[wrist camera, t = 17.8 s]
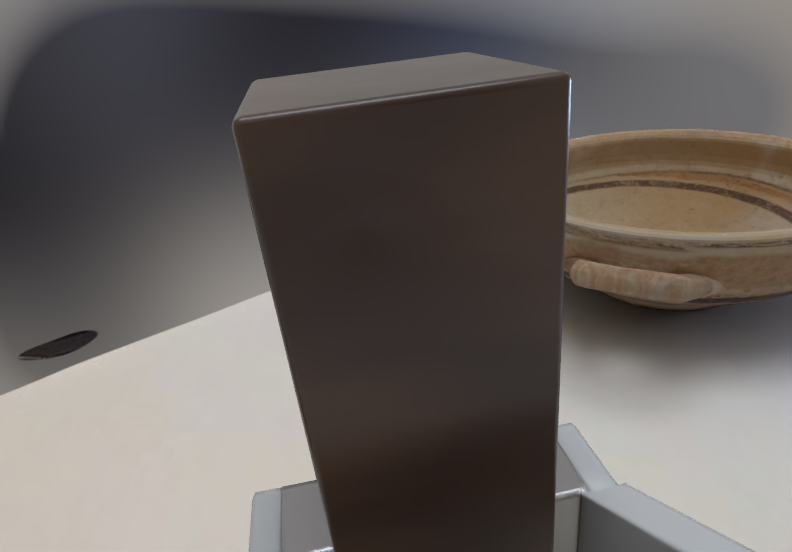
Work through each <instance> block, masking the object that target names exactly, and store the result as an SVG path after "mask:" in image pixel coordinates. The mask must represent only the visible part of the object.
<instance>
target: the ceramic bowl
mask: <svg viewBox="0 0 792 552" xmlns="http://www.w3.org/2000/svg"><path fill="white" fill-rule="evenodd" d="M564 276H565V277H568V278H570V279H572V281H573V283H574V284H575V285H577V286H580V287H583V288H588V289H594V290H600V291H602V292H604V293H605V294H607V295H609V296H611V297H613V298H616V299H618V300H621V301H624V302H627V303H630V304H634V305H638V306H643V307H648V308H655V309H662V310H697V309H705V308H710V307H715V306H718V305H727V304H738V303H748V302H757V301H764V300H768V299H773V298H778V297H782V296H787V295H790V294H792V139H791V138H785V137H779V136H771V135H764V134H756V133H746V132H734V131H720V130H719V131H718V130H710V129H702V128H701V129H700V128H697V129H666V130H640V131H627V132H616V133H606V134H598V135H591V136H585V137H579V138H573V139H569V154H568V180H567V206H566V232H565V258H564Z"/></svg>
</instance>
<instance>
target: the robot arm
mask: <svg viewBox="0 0 792 552" xmlns="http://www.w3.org/2000/svg"><path fill="white" fill-rule="evenodd" d="M249 552H334V549H333V545H332V541H331V537H330V533H329V529H328V524H327V520H326V516H325V512H324V508H323V504H322V500H321V495H320V491H319V487H318V483H317V480H314V481H309V482H304V483H299V484H294V485H289V486H283V487H281V488H276V489H271V490H266V491H261V492H256V493H255V494H254V497H253V500H252V513H251V527H250V542H249ZM553 552H755V551H753V550H751V549H749V548H747V547H745V546H743V545H742V544H740V543H738V542H736V541H734V540H732V539H730V538H728V537H726V536H724V535H722V534H721V533H719V532H717V531H715V530H713V529H711V528H709V527H707V526H705V525H703V524H702V523H700V522H698V521H696V520H694V519H692V518H690V517H688V516H686V515H684V514H683V513H681V512H679V511H677V510H675V509H673V508H671V507H669V506H667V505H665V504H664V503H662V502H660V501H658V500H656V499H654V498H652V497H650V496H648V495H646V494H645V493H643V492H641V491H639V490H637V489H635V488H633V487H631V486H629V485H627V484H626V483H625V484H620V485H617V483H616V482H615V480H614V479H613V478H612V476H611V475H610V473H609V472H608V471H607V469H606V468H605V466H604V465H603V464H602V462H601V461H600V460H599V458H598V457H597V455H596V454H595V453H594V451H593V450H592V448H591V447H590V446H589V444H588V443H587V441H586V440H585V439H584V437H583V436H582V435H581V433H580V432H579V430H578V429H577V428H576V426H575V425H573V424H571V423H568V424H563V425H559V426H558V441H557V467H556V493H555V519H554V546H553Z"/></svg>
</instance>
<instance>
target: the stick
mask: <svg viewBox="0 0 792 552" xmlns="http://www.w3.org/2000/svg"><path fill="white" fill-rule="evenodd" d="M570 102H571V78H570V75H569V73H567V72H564V71H560V70H555V69H550V68H545V67H540V66H534V65H529V64H525V63H520V62H514V61H510V60H505V59H500V58H494V57H489V56H485V55H480V54H475V53H470V52H463V53H455V54H448V55H441V56H433V57H425V58H418V59H410V60H404V61H395V62H388V63H381V64H373V65H366V66H358V67H351V68H343V69H335V70H328V71H320V72H313V73H305V74H298V75H290V76H283V77H275V78H267V79H260V80H256V81H254V82H253V83H252V84H251V86H250V88H249V90H248V92H247V94H246V96H245V98H244V100H243V102H242V104H241V106H240V108H239V110H238V112H237V114H236V116H235V118H234V120H233V125H232V131H233V135H234V139H235V143H236V148H237V152H238V155H239V160H240V164H241V168H242V172H243V177H244V181H245V185H246V189H247V193H248V197H249V201H250V205H251V210H252V214H253V218H254V222H255V226H256V230H257V234H258V239H259V243H260V247H261V251H262V255H263V259H264V264H265V268H266V271H267V276H268V280H269V284H270V288H271V293H272V297H273V301H274V305H275V309H276V313H277V317H278V322H279V326H280V330H281V334H282V338H283V342H284V346H285V351H286V355H287V359H288V363H289V367H290V371H291V375H292V379H293V384H294V388H295V392H296V396H297V400H298V404H299V408H300V413H301V417H302V421H303V425H304V429H305V433H306V437H307V442H308V446H309V450H310V454H311V458H312V462H313V466H314V471H315V475H316V479H317V483H318V487H319V491H320V495H321V500H322V504H323V508H324V512H325V516H326V520H327V524H328V529H329V533H330V537H331V541H332V545H333V549H334V552H553V546H554V519H555V493H556V467H557V441H558V415H559V389H560V363H561V337H562V310H563V284H564V258H565V232H566V206H567V180H568V154H569V127H570Z"/></svg>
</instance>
